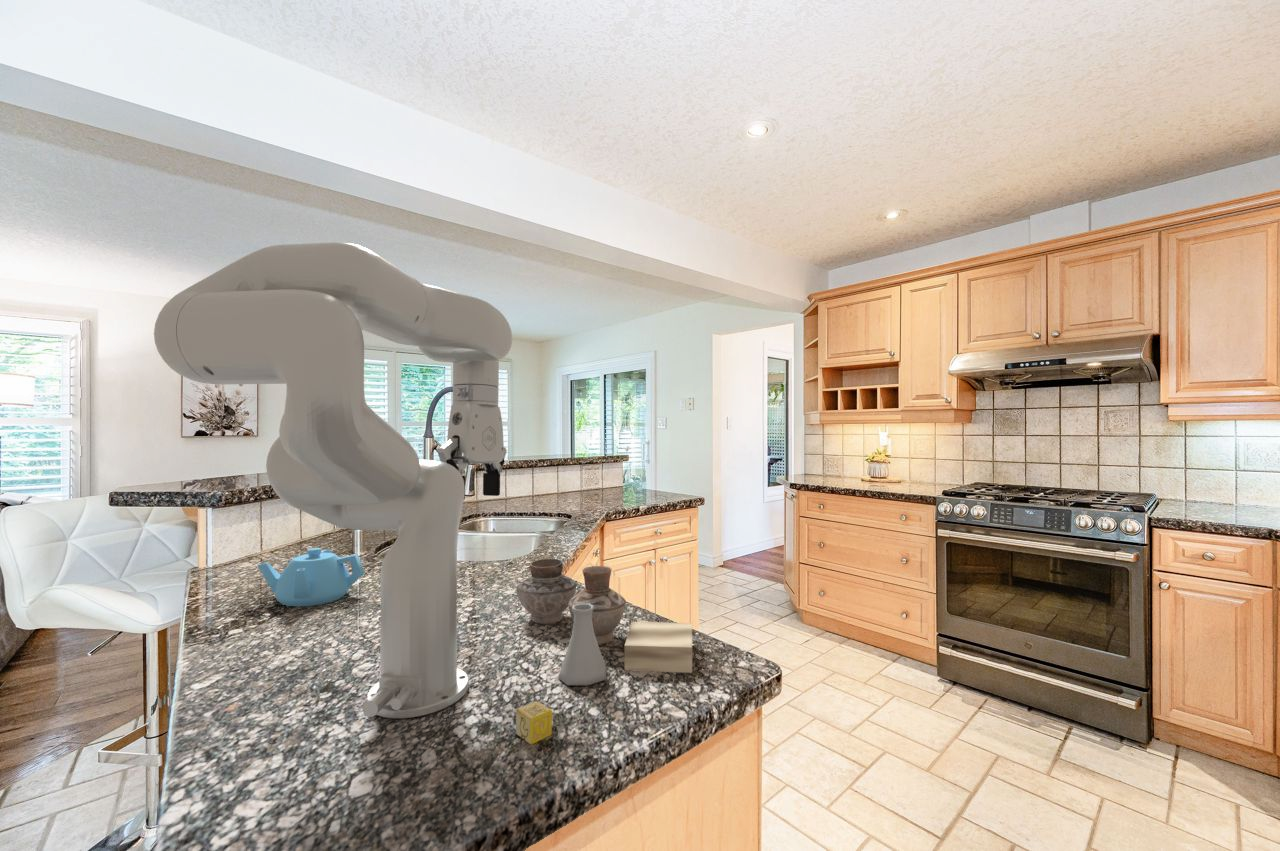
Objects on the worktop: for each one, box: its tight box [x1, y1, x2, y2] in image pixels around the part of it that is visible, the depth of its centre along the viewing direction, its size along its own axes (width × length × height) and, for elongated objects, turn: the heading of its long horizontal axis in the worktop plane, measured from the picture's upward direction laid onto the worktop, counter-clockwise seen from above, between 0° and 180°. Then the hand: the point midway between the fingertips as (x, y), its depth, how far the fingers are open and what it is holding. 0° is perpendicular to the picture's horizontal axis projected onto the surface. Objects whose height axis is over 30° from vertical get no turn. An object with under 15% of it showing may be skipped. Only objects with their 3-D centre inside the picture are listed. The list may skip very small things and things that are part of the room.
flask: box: [557, 604, 608, 686], centre depth 75 cm, size 7×7×10 cm
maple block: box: [624, 620, 693, 674], centre depth 82 cm, size 10×10×4 cm
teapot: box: [257, 547, 366, 607], centre depth 112 cm, size 15×15×11 cm
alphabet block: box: [515, 700, 553, 745], centre depth 61 cm, size 3×3×3 cm
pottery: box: [515, 558, 627, 645], centre depth 94 cm, size 11×25×12 cm, turn 47°
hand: (474, 497), depth 88 cm, fingers open, 9 cm apart
